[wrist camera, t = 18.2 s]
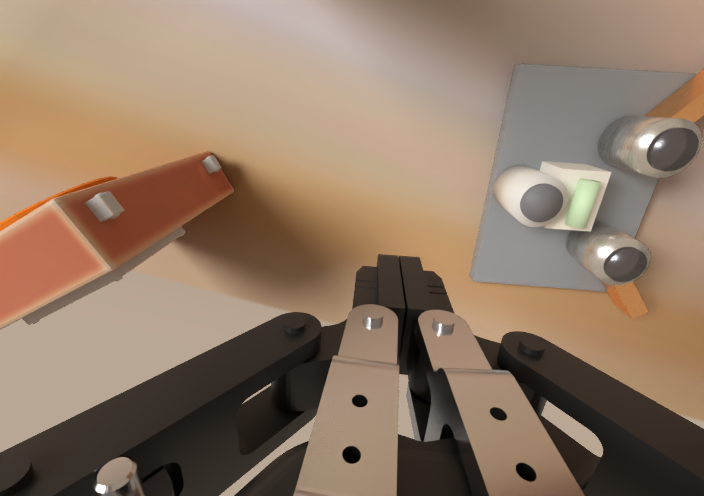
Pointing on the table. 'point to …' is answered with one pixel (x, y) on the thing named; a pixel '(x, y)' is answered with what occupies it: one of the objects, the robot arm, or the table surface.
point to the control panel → (99, 233)
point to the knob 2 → (658, 134)
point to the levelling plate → (565, 137)
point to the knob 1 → (612, 263)
